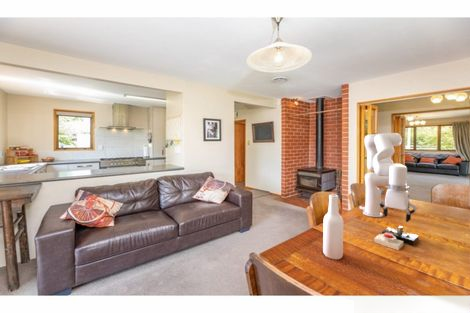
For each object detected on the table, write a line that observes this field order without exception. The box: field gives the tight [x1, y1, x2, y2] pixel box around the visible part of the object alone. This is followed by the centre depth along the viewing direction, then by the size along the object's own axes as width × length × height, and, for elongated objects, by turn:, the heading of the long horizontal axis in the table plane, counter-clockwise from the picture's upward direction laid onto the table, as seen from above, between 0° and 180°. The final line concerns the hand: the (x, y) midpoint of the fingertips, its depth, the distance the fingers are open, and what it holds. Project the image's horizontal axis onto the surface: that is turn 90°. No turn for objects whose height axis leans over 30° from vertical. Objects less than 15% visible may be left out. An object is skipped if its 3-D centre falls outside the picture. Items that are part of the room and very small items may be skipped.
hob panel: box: [381, 226, 419, 247], centre depth 115 cm, size 14×10×3 cm
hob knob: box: [396, 225, 404, 235], centre depth 115 cm, size 5×1×4 cm, turn 127°
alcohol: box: [322, 193, 345, 260], centre depth 99 cm, size 9×9×30 cm
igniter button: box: [384, 233, 393, 238], centre depth 110 cm, size 4×4×2 cm
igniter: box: [373, 233, 404, 251], centre depth 110 cm, size 11×8×4 cm
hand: (396, 218), depth 112 cm, fingers open, 9 cm apart
